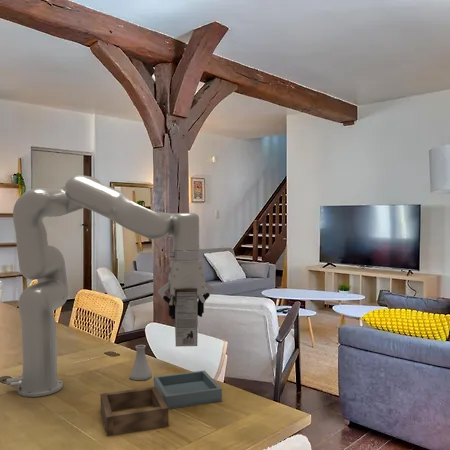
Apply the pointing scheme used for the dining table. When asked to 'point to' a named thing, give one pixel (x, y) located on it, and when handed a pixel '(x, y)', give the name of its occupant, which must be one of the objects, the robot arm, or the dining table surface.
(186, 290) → the coffee box
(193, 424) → the dining table surface
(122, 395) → the walnut tray
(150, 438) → the dining table surface
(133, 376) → the flask
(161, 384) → the slate tray
